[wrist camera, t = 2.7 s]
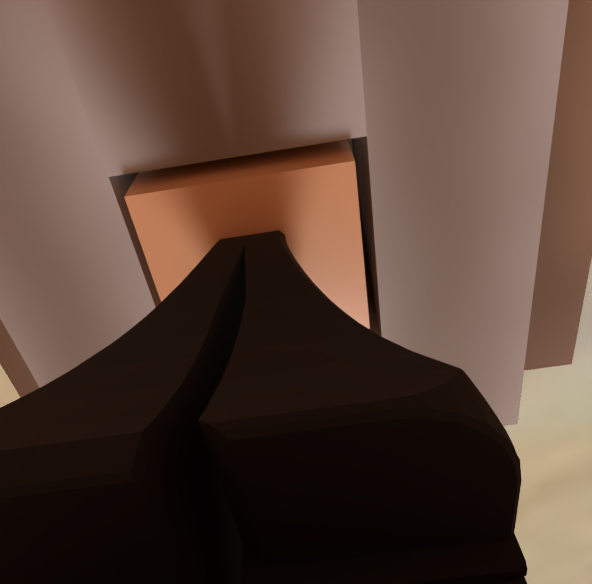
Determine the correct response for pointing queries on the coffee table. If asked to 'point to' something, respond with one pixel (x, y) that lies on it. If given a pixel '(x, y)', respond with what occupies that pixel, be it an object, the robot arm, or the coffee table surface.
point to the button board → (296, 133)
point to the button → (258, 215)
